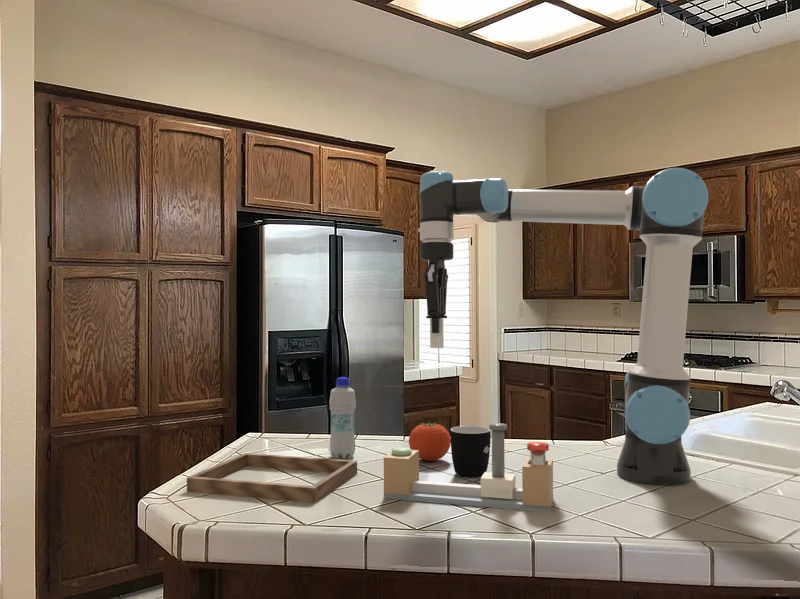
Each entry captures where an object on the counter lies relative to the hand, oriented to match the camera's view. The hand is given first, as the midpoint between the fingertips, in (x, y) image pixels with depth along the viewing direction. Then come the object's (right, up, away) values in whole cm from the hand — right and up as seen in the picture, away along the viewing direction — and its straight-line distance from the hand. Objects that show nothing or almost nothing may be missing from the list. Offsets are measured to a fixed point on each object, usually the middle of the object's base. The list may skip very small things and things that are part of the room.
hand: (436, 347), depth 148 cm
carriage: (+11, -27, -20) cm, 35 cm away
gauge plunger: (+18, -26, -22) cm, 38 cm away
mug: (+8, -29, +2) cm, 30 cm away
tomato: (-1, -29, +14) cm, 32 cm away
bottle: (-23, -29, +18) cm, 41 cm away
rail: (+5, -28, -18) cm, 34 cm away
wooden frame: (-35, -29, -5) cm, 45 cm away
